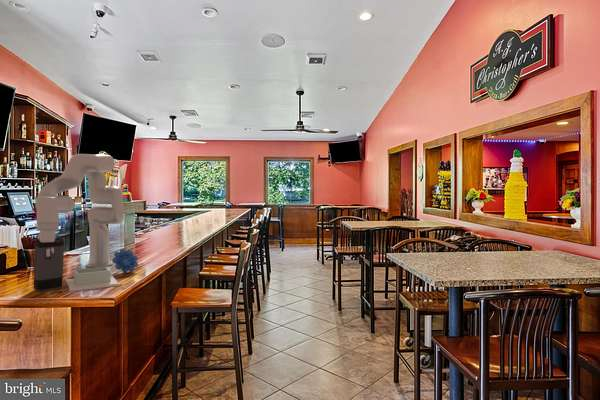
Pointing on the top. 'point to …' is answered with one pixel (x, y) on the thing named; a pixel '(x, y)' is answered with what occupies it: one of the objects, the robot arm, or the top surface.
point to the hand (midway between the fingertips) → (47, 270)
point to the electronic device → (48, 265)
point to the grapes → (125, 260)
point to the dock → (91, 279)
